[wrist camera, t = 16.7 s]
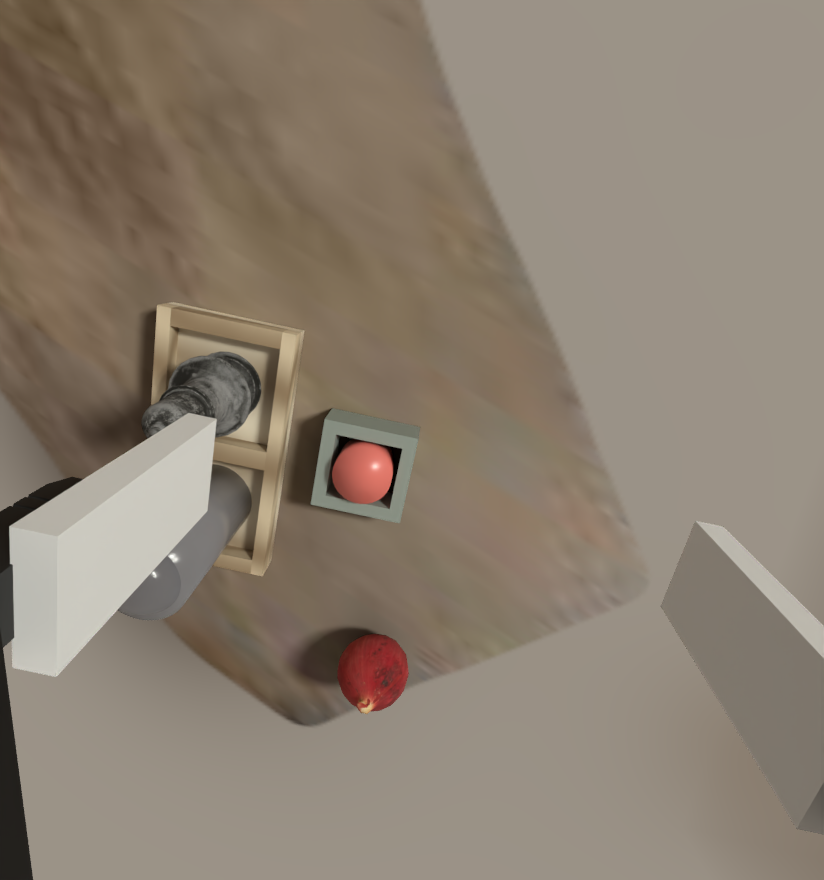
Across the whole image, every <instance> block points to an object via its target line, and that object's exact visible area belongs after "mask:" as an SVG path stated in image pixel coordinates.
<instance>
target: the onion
mask: <svg viewBox="0 0 824 880" xmlns="http://www.w3.org/2000/svg"><path fill="white" fill-rule="evenodd" d="M408 674H409V673H408V665H407V658H406V654H405V653H404V651H403V650H402V648H401V647H400V646H399V644H398V643H397V642H396V641H395V640H393V639H392V638H390V637H388V636H386V635H379V634H371V635H365V636H362V637H360V638H358V639H356V640H355V641H353V642H351V643H350V644H349V645H348V647H347V648H346V649H345V651H344V652H343V654H342V655H341V657H340V660H339V666H338V681H339V684H340V687H341V690H342V693H343V694H344V696H345V697H346V698H347V699H348V701H349V702H350V703H351V704H352V705H354V706H356V707H357V708H358V710H359V711H360V712H361V713H365V714H367V713H369V712H370V711H379V710H382V709H384V708H386V707H388V706H391V705H392V704H393V703H394V702H395V701H396V700H397V699H398V698H399V696H400V695H401V694H402V692H403V691H404V688H405V684H406V681H407V678H408Z"/></svg>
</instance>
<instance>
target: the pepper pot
mask: <svg viewBox="0 0 824 880" xmlns="http://www.w3.org/2000/svg"><path fill="white" fill-rule="evenodd" d="M251 507H252V498H251V493H250V490H249V488H248V486H247V484H246V483H245V481H244V480H243V479H242V478H241V477H240V476H239V475H238V474H237V473H236V472H234V471H233V470H231V469H229V468H227V467H225V466H222V465H217V464H212V471H211V481H210V491H209V501H208V511H207V512H206V513H205V514H204V515H203V516H202V517H201V519H200V520H199V521H198V522H197V523H196V524H195V525H194V526H193V527H192V528H191V530H190V531H189V532H188V533H187V534H186V535H185V536H184V537H183V538H182V539H181V541H180V542H179V543H178V544H177V545H176V546H175V547H174V548H173V549H172V550H171V551H170V553H169V554H168V555H167V556H166V557H165V558H164V559H163V560H162V561H161V562H160V564H159V565H158V566H157V567H156V568H155V569H154V570H153V571H152V572H151V573H150V575H149V576H148V577H147V578H146V579H145V580H144V581H143V582H142V583H141V584H140V586H139V587H138V588H137V589H136V590H135V591H134V592H133V593H132V594H131V595H130V597H129V598H128V599H127V600H126V601H125V602H124V603H123V604H122V605H121V606H120V608H119V609H118V611H120V612H121V613H123V614H125V615H128V616H130V617H133V618H137V619H141V620H159V619H163V618H166V617H169V616H171V615H173V614H174V613H176V612H177V611H178V610H179V609H180V608H181V607H182V606H183V605H184V603H185V602H186V601H187V599H188V598H189V597H190V595H191V594H192V592H193V591H194V590H195V588H196V587H197V586H198V584H199V583H200V582H201V580H202V579H203V577H204V576H205V575H206V573H207V572H208V571H209V569H210V568H211V567H212V565H213V564H214V563H215V561H216V560H217V558H218V557H219V556H220V554H221V553H222V552H223V550H224V549H225V548H226V546H227V545H228V544H229V542H230V541H231V539H232V538H233V537H234V535H235V534H236V533H237V531H238V530H239V529H240V527H241V526H242V525H243V523H244V522H245V520H246V519H247V518H248V516H249V514H250V511H251Z"/></svg>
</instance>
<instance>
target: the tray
mask: <svg viewBox="0 0 824 880" xmlns="http://www.w3.org/2000/svg"><path fill="white" fill-rule="evenodd" d="M304 331H305V330H300V329H295V328H291V327H286V326H282V325H277V324H272V323H268V322H263V321H258V320H254V319H249V318H244V317H240V316H235V315H231V314H226V313H221V312H217V311H212V310H207V309H203V308H198V307H193V306H189V305H184V304H180V303H175V302H171V303H166V304H160V305H157V316H156V332H155V348H154V364H153V380H152V396H151V405H153V404H155V403H157V402H159V400H160V398H161V396H162V394H163V393H164V392H165V391H166V390H168V386H169V380H170V378H171V376H172V374H173V372H174V370H175V369H176V368H177V367H178V366H179V365H180V364H181V363H183V362H184V361H186V360H188V359H190V358H193V357H197V356H208V355H209V354H211V353H216V352H231V353H235V354H238V355H240V356H241V357H243V358H245V359H246V360H247V361H248V362H249V363H250V364H251V365H252V366H253V367H254V368H255V370H256V372H257V373H258V375H259V378H260V381H261V397H260V401H259V402H258V404H257V406H256V408H255V409H254V410H253V411H252V412H251V413H250V414H249V415H248V417H247V419H246V421H245V423H244V424H243V425H242V426H241V427H240V428H239V429H238V430H237V431H235V432H233V433H231V434H229V435H226V436H222V437H215V441H214V451H213V461H212V464H217V465H222V466H225V467H227V468H229V469H231V470H233V471H234V472H236V473H237V474H238V475H239V476H240V477H241V478H242V479H243V480H244V481H245V483H246V484H247V486H248V488H249V490H250V493H251V498H252V507H251V511H250V514H249V516H248V518H247V519H246V520H245V522H244V523H243V525H242V526H241V527H240V529H239V530H238V531H237V533H236V534H235V535H234V537H233V538H232V539H231V541H230V542H229V544H228V545H227V546H226V548H225V549H224V550H223V552H222V553H221V554H220V556H219V557H218V558H217V560H216V561H215V563H214V564H213V565H212V566H216V567H221V568H226V569H230V570H235V571H240V572H245V573H249V574H254V575H259V576H263V574H264V573H265V571H266V569H267V567H268V565H269V564H270V562H271V559H272V552H273V545H274V538H275V531H276V524H277V517H278V510H279V503H280V497H281V490H282V483H283V476H284V469H285V462H286V455H287V448H288V441H289V435H290V428H291V421H292V414H293V407H294V400H295V393H296V386H297V379H298V372H299V366H300V359H301V352H302V345H303V338H304Z"/></svg>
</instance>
